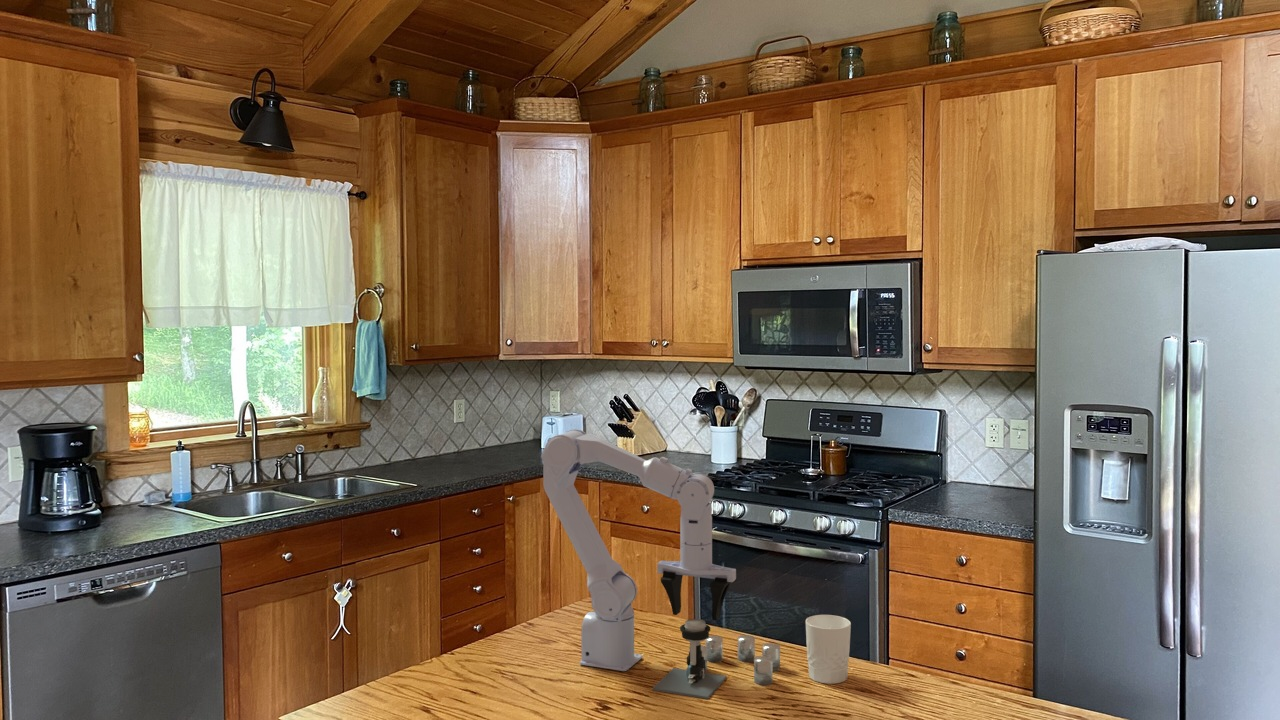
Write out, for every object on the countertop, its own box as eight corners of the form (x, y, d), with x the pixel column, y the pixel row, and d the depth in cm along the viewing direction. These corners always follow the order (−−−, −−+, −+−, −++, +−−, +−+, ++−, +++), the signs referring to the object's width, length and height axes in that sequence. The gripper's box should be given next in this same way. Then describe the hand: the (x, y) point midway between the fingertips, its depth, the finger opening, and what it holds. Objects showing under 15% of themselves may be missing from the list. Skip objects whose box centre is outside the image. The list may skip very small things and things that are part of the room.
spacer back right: (760, 669, 173) (760, 647, 173) (765, 663, 176) (765, 642, 176) (777, 672, 172) (777, 650, 172) (782, 665, 175) (782, 644, 175)
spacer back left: (703, 661, 177) (703, 639, 177) (708, 655, 180) (708, 634, 180) (719, 663, 176) (719, 642, 176) (724, 657, 179) (724, 636, 179)
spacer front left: (686, 671, 172) (686, 649, 172) (692, 665, 175) (692, 644, 175) (703, 674, 171) (703, 652, 171) (709, 667, 174) (709, 646, 174)
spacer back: (735, 660, 178) (735, 639, 177) (740, 655, 180) (740, 634, 180) (752, 663, 176) (752, 641, 176) (756, 657, 179) (756, 636, 179)
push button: (704, 688, 163) (704, 630, 163) (674, 684, 165) (674, 627, 165) (713, 674, 170) (713, 618, 169) (685, 670, 171) (684, 616, 171)
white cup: (796, 677, 169) (796, 622, 169) (820, 665, 175) (821, 611, 174) (835, 689, 164) (835, 632, 163) (858, 676, 170) (859, 621, 169)
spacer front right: (751, 683, 166) (751, 661, 166) (757, 677, 169) (757, 655, 169) (769, 686, 165) (769, 663, 165) (774, 679, 168) (774, 657, 168)
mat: (652, 690, 164) (652, 687, 164) (673, 670, 173) (673, 667, 173) (707, 699, 160) (707, 696, 160) (726, 678, 169) (726, 675, 169)
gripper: (741, 540, 172) (741, 614, 173) (667, 533, 179) (668, 604, 179) (728, 549, 166) (728, 626, 167) (652, 541, 172) (652, 615, 173)
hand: (696, 616), depth 173 cm, fingers open, 7 cm apart
